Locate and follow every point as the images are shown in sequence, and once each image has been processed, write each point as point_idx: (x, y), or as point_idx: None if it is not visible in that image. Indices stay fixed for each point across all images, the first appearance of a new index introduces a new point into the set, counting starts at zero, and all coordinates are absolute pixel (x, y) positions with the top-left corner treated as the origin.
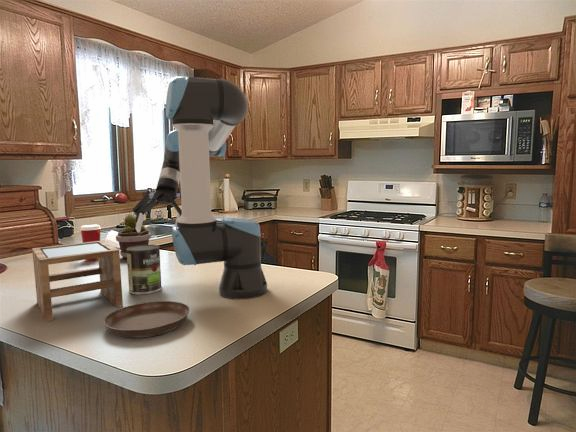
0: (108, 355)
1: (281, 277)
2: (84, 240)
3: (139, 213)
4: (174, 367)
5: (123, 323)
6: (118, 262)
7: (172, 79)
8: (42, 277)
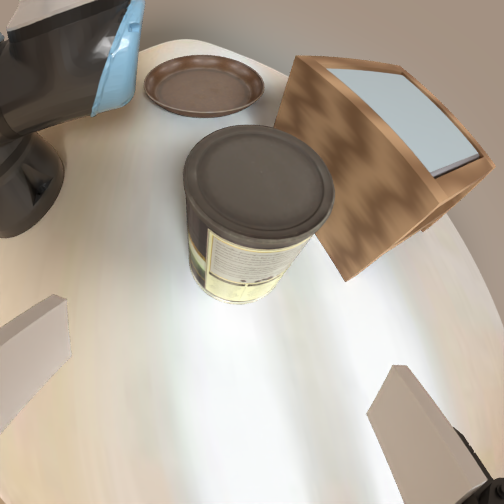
0: (236, 58)
1: None
2: None
3: (481, 492)
4: (177, 42)
5: (239, 96)
6: (290, 82)
7: None
8: None
